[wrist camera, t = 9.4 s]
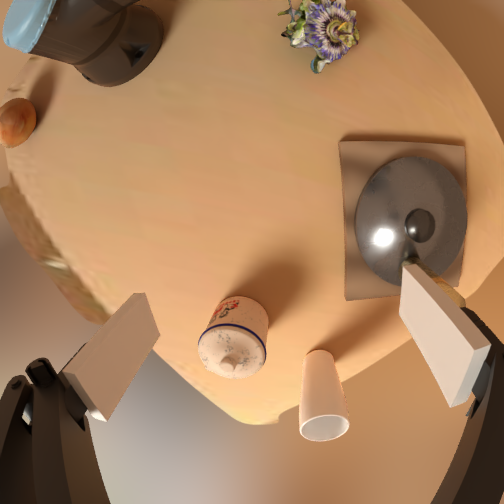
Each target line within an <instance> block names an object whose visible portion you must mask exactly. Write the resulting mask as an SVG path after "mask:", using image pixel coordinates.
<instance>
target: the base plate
mask: <svg viewBox="0 0 504 504" xmlns="http://www.w3.org/2000/svg"><path fill="white" fill-rule="evenodd" d="M338 145H339V155H340V165H341V177H342V191H343V208H344V233H345V299H346V301H351V300H361V299H370V298H380V297H388V296H396V295H401V286H396V285H393V284H390V283H388V282H386V281H384V280H383V279H381V278H380V277H378V276H377V275H376V274H375V273H374V272H373V271H372V270H371V269H370V267H369V266H368V265H367V263H366V262H365V260H364V259H363V257H362V255H361V253H360V251H359V248H358V245H357V242H356V237H355V230H354V217H355V210H356V206H357V202H358V199H359V196H360V194H361V191H362V189H363V188H364V186H365V184H366V183H367V181H368V180H369V178H370V177H371V176H372V175H373V174H374V173H375V172H376V171H377V170H378V169H379V168H380V167H382V166H383V165H385V164H386V163H388V162H390V161H392V160H395V159H398V158H402V157H415V156H416V157H424V158H428V159H431V160H433V161H436V162H438V163H439V164H441V165H442V166H444V167H445V168H446V169H447V170H448V171H449V172H450V173H451V174H452V175H453V176H454V177H455V179H456V181H457V182H458V184H459V186H460V188H461V190H462V192H463V195H464V198H465V202H466V160H465V147H464V146H456V145H446V144H434V143H419V142H396V141H341V142H338ZM464 239H465V238H464ZM463 249H464V241H463V244H462V247H461V249H460V251H459V253H458V255H457V257H456V258H455V260H454V261H453V263H452V264H451V265H450V266H449V268H448V269H447V270H446V271H445V272H444V273H442V274H441V275H440V277H441V278H442V279H443V280H444V281H446V282H447V283H448V284H449V285H450V286H451V287H452V288H453V287H458V285H459V279H460V273H461V266H462V258H463Z"/></svg>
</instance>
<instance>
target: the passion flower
mask: <svg viewBox="0 0 504 504" xmlns="http://www.w3.org/2000/svg"><path fill="white" fill-rule="evenodd" d="M288 1H289V5H290V9H288V10H286V11H283V12H280V13H278V16H279V15H284V14H290V15H291V17H292V20H291V22H290V24H289V25H288V26H287V28H286V29H287V30H286V31H285V32H283V33H282V34H281V35H282V36H283V37H288V38H289V39H290V41H291V44H290V46H292V47H294V48H302V47H312V48H314V49H315V51H316V52H317V55H316V57H315V59H314V60H312V61H311V69H312V71H313V72H314V73H321V70H322V69H323V67H324V65H325V63H327V64H330V62H332V61H333V60H337V59H341V58H342V57H343V54H347V51H348V49H350V47H351V46H352V45H353V44H354V45H358V40H359V32H358V31H359V30H357V28H356V24H357V22H356V19H355V16H356V11H354V10H351V11H350V10H347V9H346V0H335V1H334V2H332V3H331V1H330V0H302V2H303V3H301V4H300V5H299V9H298V10H295V9H293V8H292V6H291V1H290V0H288ZM294 15H299V16H300V18H299V19H298V20H297V22H295V20H294ZM290 33H293V34H292V35H289V34H290Z"/></svg>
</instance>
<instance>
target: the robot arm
mask: <svg viewBox="0 0 504 504" xmlns="http://www.w3.org/2000/svg"><path fill="white" fill-rule="evenodd" d="M137 1H139V0H13V2H12V4H11V6H10V8H9V10H8V13H7V15H6V19H5V21H4V26H3V40H4V42H5V44H6V45H7V46H9V47H12V48H15V49H18V50H21V51H22V52H23V53H30V54H35V55H39V56H43V57H47V58H51V59H54V60H58V61H61V62H65V63H68V64H71V65H73V66H74V67H75V68H76V69H77V70H78V71H79V72H80V73H82V75H83V76H84V77H85V78H86V79H87V80H88V81H89V82H91V83H94V84H97V85H100V86H104V87H113V86H117V85H121V84H123V83H125V82H127V81H129V80H131V79H133V78H134V77H135V76H137V75H138V74H139V73H141V72H142V71H143V70H144V69H145V68H146V67H147V66H148V65H149V63H150V62H151V61H152V60H153V58H154V57H155V55H156V53H157V52H158V50H159V48H160V45H161V42H162V39H163V24H162V21H161V19H160V18H159V17H158V16H157V15H156V14H155V13H154V12H153V11H152V10H151V9H149V8H147V7H145V6H141V5H134V3H136V2H137ZM399 316H400V317H401V319H402V320H403V322H404V324H405V325H406V327H407V329H408V330H409V332H410V334H411V335H412V337H413V339H414V340H415V342H416V344H417V346H418V347H419V349H420V351H421V353H422V354H423V356H424V358H425V360H426V362H427V364H428V365H429V367H430V369H431V371H432V373H433V375H434V377H435V378H436V380H437V382H438V384H439V386H440V388H441V390H442V392H443V394H444V396H445V398H446V400H447V402H448V404H449V406H450V408H451V407H454V406H456V405H459V404H461V403H464V402H466V401H467V399H468V397H469V395H470V393H471V391H472V392H473V394H474V395H475V397H476V398H475V400H474V401H473V403H472V405H471V407H470V409H469V411H468V412H467V414H466V416H468V415H469V417H468V420H467V423H466V426H465V429H464V432H463V435H462V437H461V440H460V443H459V445H458V448H457V450H456V453H455V455H454V458H453V460H452V462H451V465H450V467H449V469H448V471H447V473H446V475H445V477H444V480H443V481H442V483H441V485H440V487H439V489H438V491H437V493H436V495H435V497H434V498H433V501H432V502H431V504H499V503H500V500H501V497H502V494H503V492H504V344H502V343H501V341H500V340H499V339H498V338H497V337H496V336H495V334H494V333H493V332H492V331H491V330H490V329H489V328H488V326H485V323H484V322H483V321H482V320H480V318H479V317H478V316H477V315H476V314H475V312H473V311H472V310H470V309H468V308H466V307H461V308H459V307H458V306H457V305H456V303H455V302H454V301H453V300H452V299H451V298H450V297H449V296H448V295H447V294H446V293H445V292H444V291H443V290H442V289H441V288H440V287H439V286H438V285H437V284H436V283H435V282H434V281H433V280H432V279H431V278H430V277H429V276H428V275H427V274H426V273H425V272H424V271H423V270H422V269H421V268H420V267H419V266H418V265H417V264H414V265H407V266H403V273H402V287H401V299H400V308H399ZM159 336H160V333H159V331H158V328H157V325H156V323H155V320H154V317H153V314H152V311H151V309H150V306H149V303H148V300H147V297H146V294H145V293H134V294H133V295H132V296H131V297H130V298H129V299H128V300H127V301H126V302H125V303H124V304H123V305H122V306H121V307H120V308H119V309H118V310H117V311H116V312H115V313H114V314H113V315H112V316H111V318H110V319H109V320H108V321H107V322H106V323H105V324H104V325H103V326H102V327H101V328H100V329H99V330H98V331H97V333H96V334H95V335H94V336H93V337H92V338H91V339H90V340H89V341H88V342H87V343H85V344H84V345H83V346H82V347H81V348H80V349H79V351H78V352H77V353H76V354H75V355H74V356H73V358H71V360H70V361H69V362H68V363H67V364H66V365H65V366H64V367H63V369H62V370H61V371H60V372H59V373H58V374H57V373H56V372H55V370H54V368H53V367H52V365H51V363H50V362H49V360H48V359H46V358H38V359H36V360H34V361H33V362H32V363H30V364H29V365H28V366H27V368H26V370H25V372H26V373H27V375H28V376H29V378H30V379H31V381H32V382H33V384H30V383H29V382H28V380H27V379H26V377H25V376H23V375H19V376H15V377H13V378H12V379H11V380H10V381H9V383H8V384H7V386H6V389H5V390H4V393H3V395H2V397H1V400H0V504H111V503H110V501H109V498H108V495H107V492H106V489H105V486H104V483H103V480H102V476H101V473H100V469H99V466H98V462H97V458H96V455H95V450H94V446H93V442H92V437H91V433H90V428H89V422H88V419H87V417H86V415H85V412H86V411H87V409H88V410H89V412H90V413H91V414H92V416H93V417H94V418H96V419H99V420H103V421H108V419H109V418H110V416H111V414H112V413H113V411H114V409H115V407H116V406H117V404H118V403H119V401H120V399H121V398H122V396H123V394H124V393H125V391H126V389H127V388H128V386H129V384H130V383H131V381H132V379H133V378H134V376H135V375H136V373H137V371H138V370H139V368H140V367H141V365H142V363H143V362H144V360H145V359H146V357H147V355H148V354H149V352H150V350H151V349H152V347H153V346H154V344H155V343H156V341H157V340H158V338H159ZM23 413H24V414H25V416H26V417H27V418H28V419H29V420H30V423H29V425H28V424H27V423H26V422H25V421H24V420H23V419H22V415H23Z"/></svg>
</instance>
